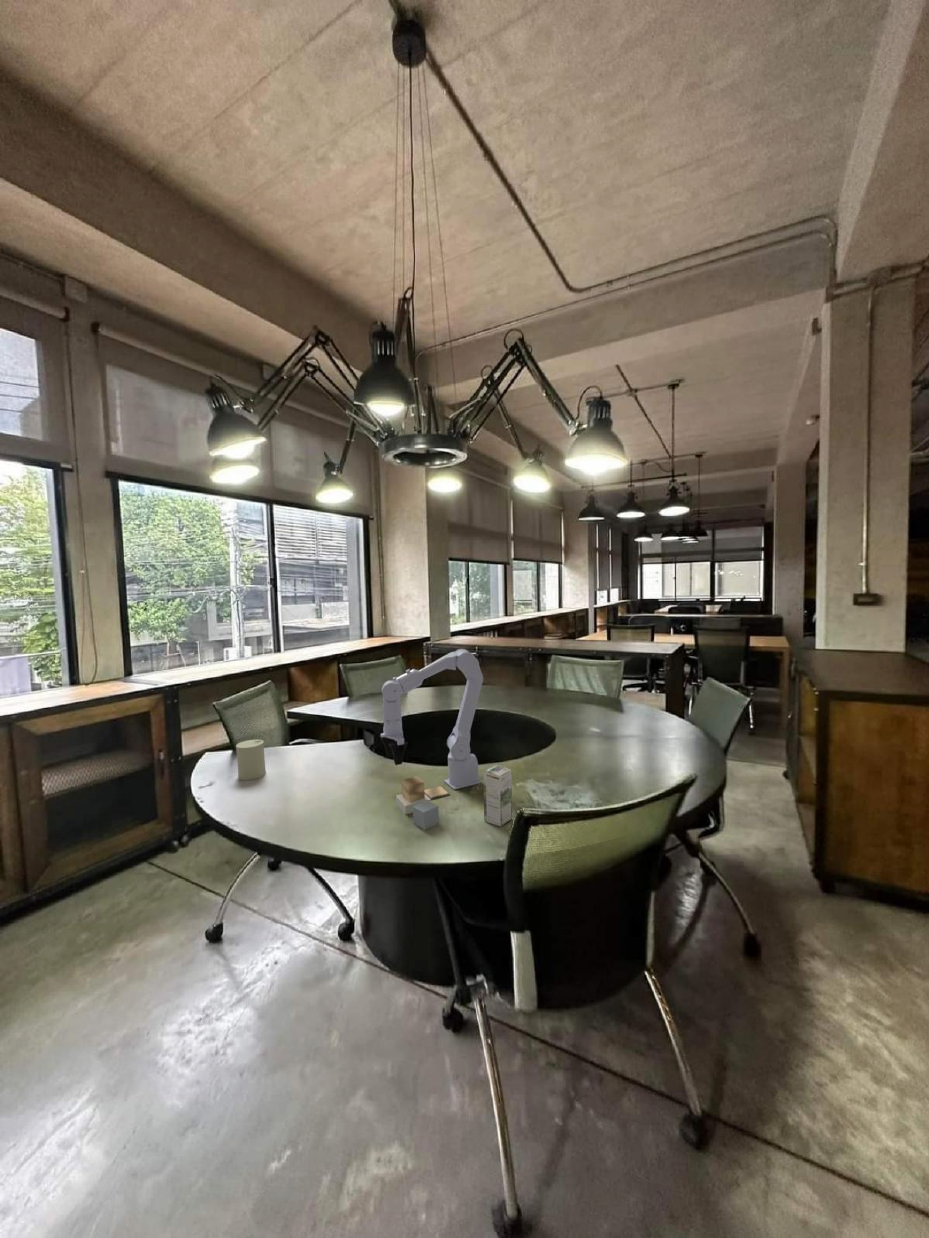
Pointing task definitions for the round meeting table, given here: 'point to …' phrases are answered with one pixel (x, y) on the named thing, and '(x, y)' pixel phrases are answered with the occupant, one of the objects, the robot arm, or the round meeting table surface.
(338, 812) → the round meeting table surface
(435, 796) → the tile
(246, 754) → the can
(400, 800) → the base block
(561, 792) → the round meeting table surface
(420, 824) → the slate cube
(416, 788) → the maple cube
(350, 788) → the round meeting table surface
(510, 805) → the syrup box
